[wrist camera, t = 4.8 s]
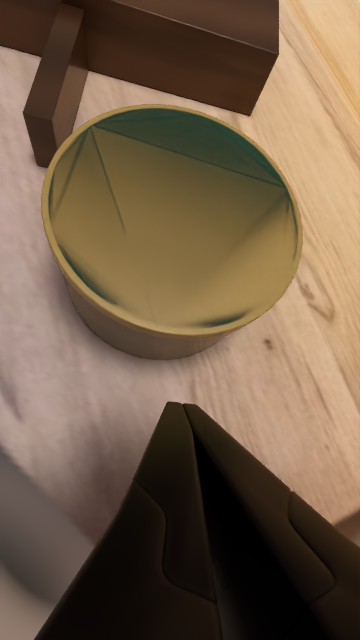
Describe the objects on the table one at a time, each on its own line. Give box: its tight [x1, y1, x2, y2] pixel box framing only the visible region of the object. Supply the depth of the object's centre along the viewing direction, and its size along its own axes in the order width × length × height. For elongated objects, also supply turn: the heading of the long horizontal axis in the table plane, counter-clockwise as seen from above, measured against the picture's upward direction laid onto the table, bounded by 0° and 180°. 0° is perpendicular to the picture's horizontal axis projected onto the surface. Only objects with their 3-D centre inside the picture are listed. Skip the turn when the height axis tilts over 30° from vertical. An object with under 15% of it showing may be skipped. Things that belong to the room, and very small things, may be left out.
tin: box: [41, 104, 303, 360], centre depth 18 cm, size 12×12×7 cm
